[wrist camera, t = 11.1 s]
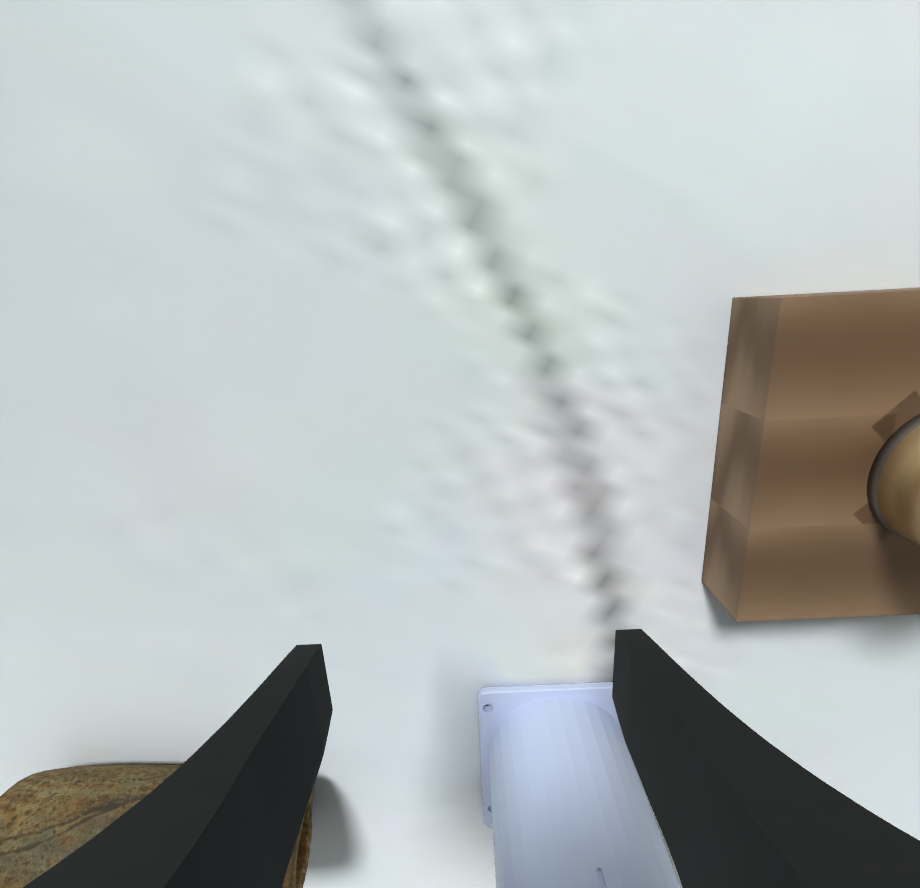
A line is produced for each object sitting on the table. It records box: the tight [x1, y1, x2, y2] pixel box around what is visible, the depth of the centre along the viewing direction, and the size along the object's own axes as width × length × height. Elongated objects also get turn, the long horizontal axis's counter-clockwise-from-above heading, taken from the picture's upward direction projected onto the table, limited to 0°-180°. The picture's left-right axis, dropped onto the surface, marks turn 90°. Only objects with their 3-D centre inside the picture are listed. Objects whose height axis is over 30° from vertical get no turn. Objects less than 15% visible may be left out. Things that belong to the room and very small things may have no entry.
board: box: [702, 288, 920, 622], centre depth 19 cm, size 13×14×3 cm
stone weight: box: [0, 764, 314, 888], centre depth 24 cm, size 15×7×7 cm, turn 91°
